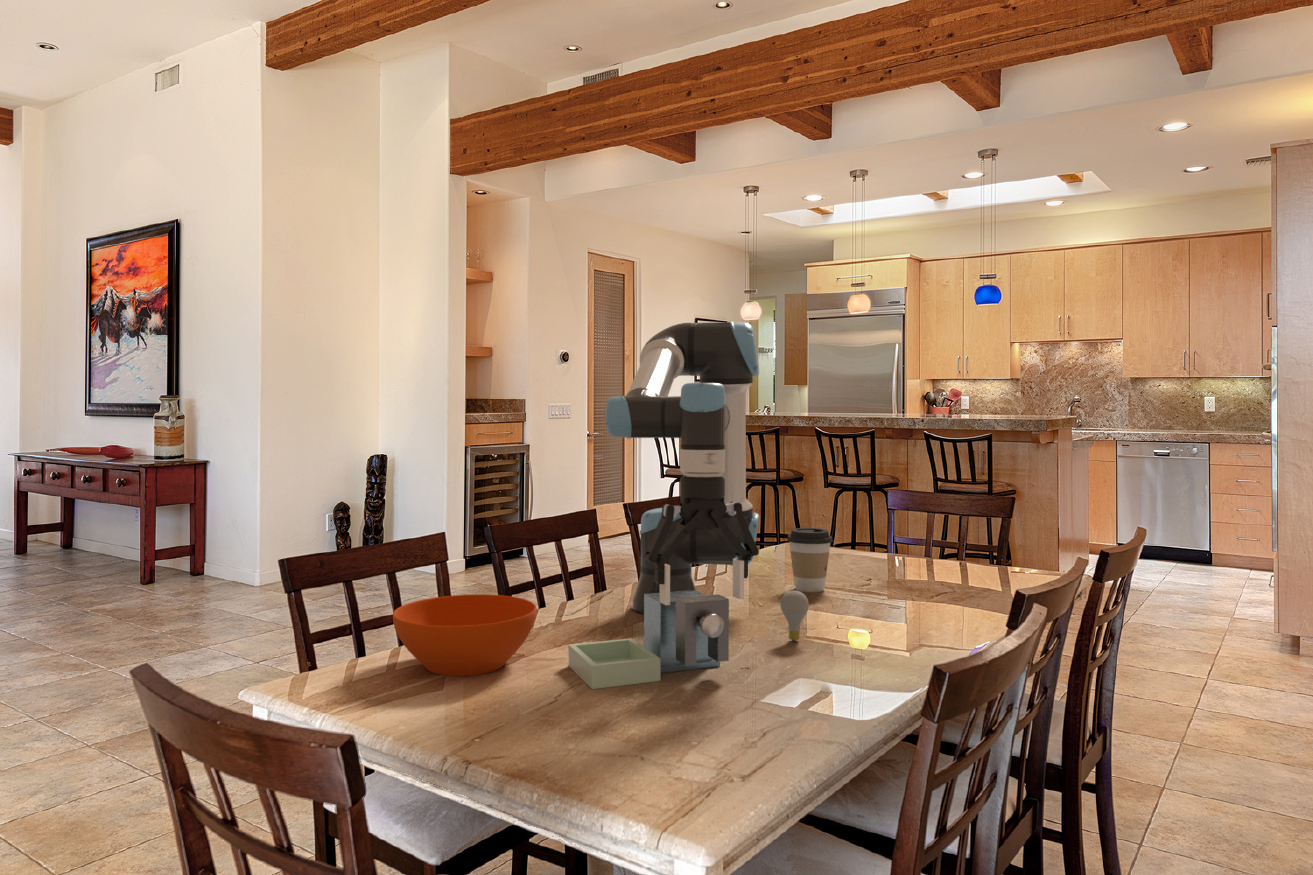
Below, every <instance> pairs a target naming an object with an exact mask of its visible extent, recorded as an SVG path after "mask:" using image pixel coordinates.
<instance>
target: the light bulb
mask: <svg viewBox="0 0 1313 875" xmlns="http://www.w3.org/2000/svg"><path fill="white" fill-rule="evenodd" d="M809 605H810V604H809V600H808V598H807V596H806V595H805V594H804V593H803V592H802V591H798V590H796V589H795V590H793V589H792V590H789V591H787V592H786V593H784V594H783V596H782V597H781V600H780V609H781V612H782V614H783V615H784V617H785V619H786V621H787V623H788V639H789V640H791V641H792V642H794V641H795V642H796V641H799V640H800V637H801V635H800V634H801V633H800V631H801V623H802V621H803V620H804V618H805V617H806V615H807V613H808V610H809Z"/></svg>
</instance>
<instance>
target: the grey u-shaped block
mask: <svg viewBox="0 0 1313 875" xmlns="http://www.w3.org/2000/svg"><path fill="white" fill-rule="evenodd" d="M705 595H706V594H705ZM729 599H730V598H727V597H725V596H724V595H721V594H709V595H708V594H707V595H706V596H694V597H682V598H676V660H677V661H679V662H680V663H682V664H683V665H685V666H688V665H696V617H700V616H706V615H708V614H716V615H718V616H720V617H721V618H722V620H723V622H724V629H723V631H722V633H721V634H720V635H719V636H718V637H715V638H710V637H708V656H709V657H711V658H712V659H714V660H715V661H717V662H720V663H721V662H729V660H730V659H729V657H730V656H729V649H730V646H729V644H730V643H729V642H730V641H729V640H730V639H729V638H730V626H729V625H730V623H729V622H730V620H729V619H730V618H729V617H730V610H729V609H730V607H729V606H730V600H729Z"/></svg>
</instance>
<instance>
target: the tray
mask: <svg viewBox="0 0 1313 875" xmlns="http://www.w3.org/2000/svg"><path fill="white" fill-rule="evenodd" d="M568 667H569V668H570V669H571V670H572V671H573V672H574V673H575V674H576V675H577V676H578V677H579V678H580V679H581V680H582V681H583V682H584V683H585V684H587V686H588V687H589V688H591V690H596V689H604V688H614V687H623V686H629V685H637V684H638V685H639V684H645V683H646V684H647V683H654V682H661V673H660V658H659V657H658V656H656V655H655V654H653V653H652V652H651V651H649V650H648V649H646V648H645V647H644V645H642V644H641V643H640V642H638V641H636V640H635V639H634V638H631V637H630V638H623V639H612V640H603V641H601V640H600V641H592V642H582V643H574V644H568Z"/></svg>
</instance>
